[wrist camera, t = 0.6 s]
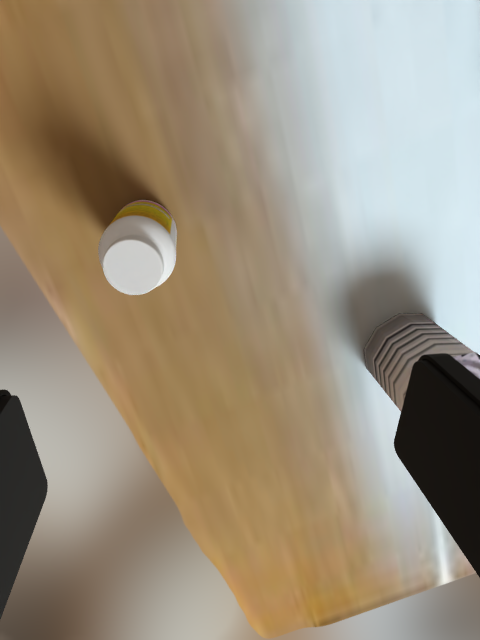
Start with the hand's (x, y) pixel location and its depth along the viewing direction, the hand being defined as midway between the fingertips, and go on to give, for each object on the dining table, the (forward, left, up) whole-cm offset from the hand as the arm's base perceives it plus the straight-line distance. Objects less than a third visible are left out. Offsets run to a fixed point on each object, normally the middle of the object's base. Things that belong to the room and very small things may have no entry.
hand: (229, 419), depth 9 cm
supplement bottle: (+1, -6, -35) cm, 36 cm away
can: (+32, +16, -35) cm, 50 cm away
